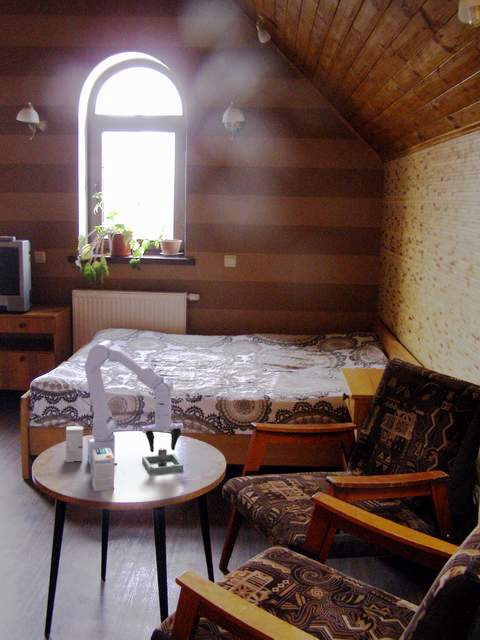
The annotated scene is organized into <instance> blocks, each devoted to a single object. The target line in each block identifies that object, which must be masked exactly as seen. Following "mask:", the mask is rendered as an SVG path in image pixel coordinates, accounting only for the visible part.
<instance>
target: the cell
mask: <svg viewBox="0 0 480 640" xmlns="http://www.w3.org/2000/svg"><path fill="white" fill-rule="evenodd" d="M157 453H158V454H157V455H158V461H157V467H160V466H167V461H168V460H167V454H168V453H167V449H166V448H160V449H158V451H157Z"/></svg>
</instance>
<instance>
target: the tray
mask: <svg viewBox="0 0 480 640" xmlns="http://www.w3.org/2000/svg"><path fill="white" fill-rule="evenodd" d="M141 458H142V459H141V461H142V464H143V465H144V468H146V470H147V472H148V474H149V475H155V474H163V473H174V472H182V471H184V464H183V463H182V461H181V460H180V459H179V458H178V456H177V455H176V453H167V461H173V463H174V464H172V465H171V464H170V465H166V466H160V467H158V466H155V467H154V466H152V465H151V463H155V462H157V463H158V454H157V455H156V454H155V455H147V456H142V457H141Z"/></svg>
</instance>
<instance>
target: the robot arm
mask: <svg viewBox="0 0 480 640" xmlns="http://www.w3.org/2000/svg"><path fill="white" fill-rule="evenodd" d="M87 353H88V355H87V358H86V359H85V364H84V371H85V377H86V380H87V387H88V391H89V396H90V400H91V401H90V402H91V405H92V409H93V410H92V411H93V417H92V430H91V433H92V436H93V438H91V439H88V441H87V462H88V464H89V466H90V467H91V449H102V448H110V449H111V451H112V454H113V456H114V465H117V464H118V461H117V459H116V457H115V456H116V455H115V452H116V451H115V450H116V449H115V446H116V444H115V443H116V441H115V440H116V439H115V437H116V436H115V434H114V433H115V431H116V430H117V427H118V426H117V425H118V424H117V422H116V420H115V418H114V417H113V413H112V412H111V411H110V410H109V404H108V400H107V396H106V395H107V394H106V390H105V386H104V380H103V376H102V370H101V368H102V366H103V365H104V364H105V363H106V361H107V362H109V363H114V362H115V363H118V364H121V365H122V366H123V367H125V368H127V369H128V370H130V371H131V372H132V373H134V374H135V375H136V377H137V380H138V381H139V382H141V383H142V384H143V385H144V386H146V387H147V388H148V389H150V390H152V391H153V394H154V396H155V402H154V403H155V405H154V424H149V425H141V427H142V428H141V429H142V430H141V432H142V433H143V434H145V437H146V438H147V442H148V445H149V451H150V452H151V453H154V451H155V447H154V445H155V444H154V441H155V434H154V432H165V431H167V432H168V431H170V435H171V436H170V437H171V441H170V443H171V444H170V448H171V450H172V451H175V449H176V445H177V442H178V439H179V438H180V436H181V434H182V431H183V430H184V424H183V423H182V422H181V423H176V422H175V423H173V422H172V392H173V390H174V384H173V382H172V380H170V379H169V378H166V377H164V376H163V375H162V376H161V375H160V374H159V373H157V372H156V371H155V369H154V368H153V367H152V366H148V365H147V366H143V365H141V364H140V363H139V362H137V360H135V359H134V358H133V357H132V356H130V355H129V354H127V352H125V351H124V350H123V349H122V348H121V347H120V346H119V345H118V344H117V343H116V344H115V343H114V342H113V341H111V340H109V339H104V340H102V341H101V342H100V343H97V344H95V345H93V346H92V348H90V349H89V350H88V352H87Z"/></svg>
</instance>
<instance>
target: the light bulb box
mask: <svg viewBox="0 0 480 640" xmlns="http://www.w3.org/2000/svg"><path fill="white" fill-rule="evenodd" d="M90 481H91V486H92V490H93V492H101V491H100V490H102V491H110V490H111V491H112V490H115V464H114V456H113V454H112V451H111V449H110V448H102V449H91V466H90Z"/></svg>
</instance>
